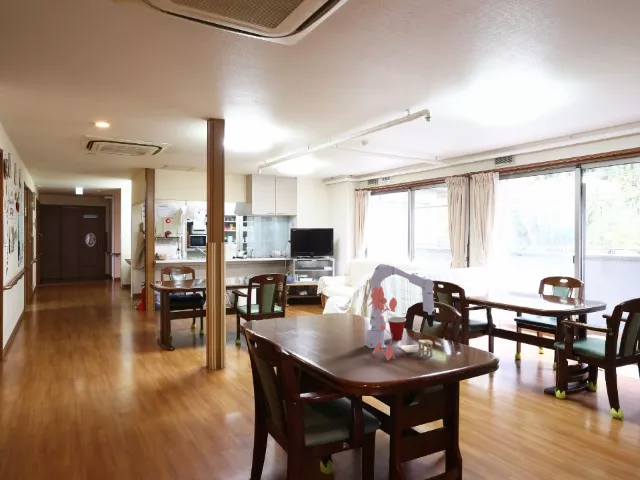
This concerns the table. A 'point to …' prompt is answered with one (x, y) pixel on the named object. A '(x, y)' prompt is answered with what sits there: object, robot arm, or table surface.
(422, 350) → the stool
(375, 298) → the pink flower plant
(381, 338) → the robot arm
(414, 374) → the table surface
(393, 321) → the plastic cup
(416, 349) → the board
